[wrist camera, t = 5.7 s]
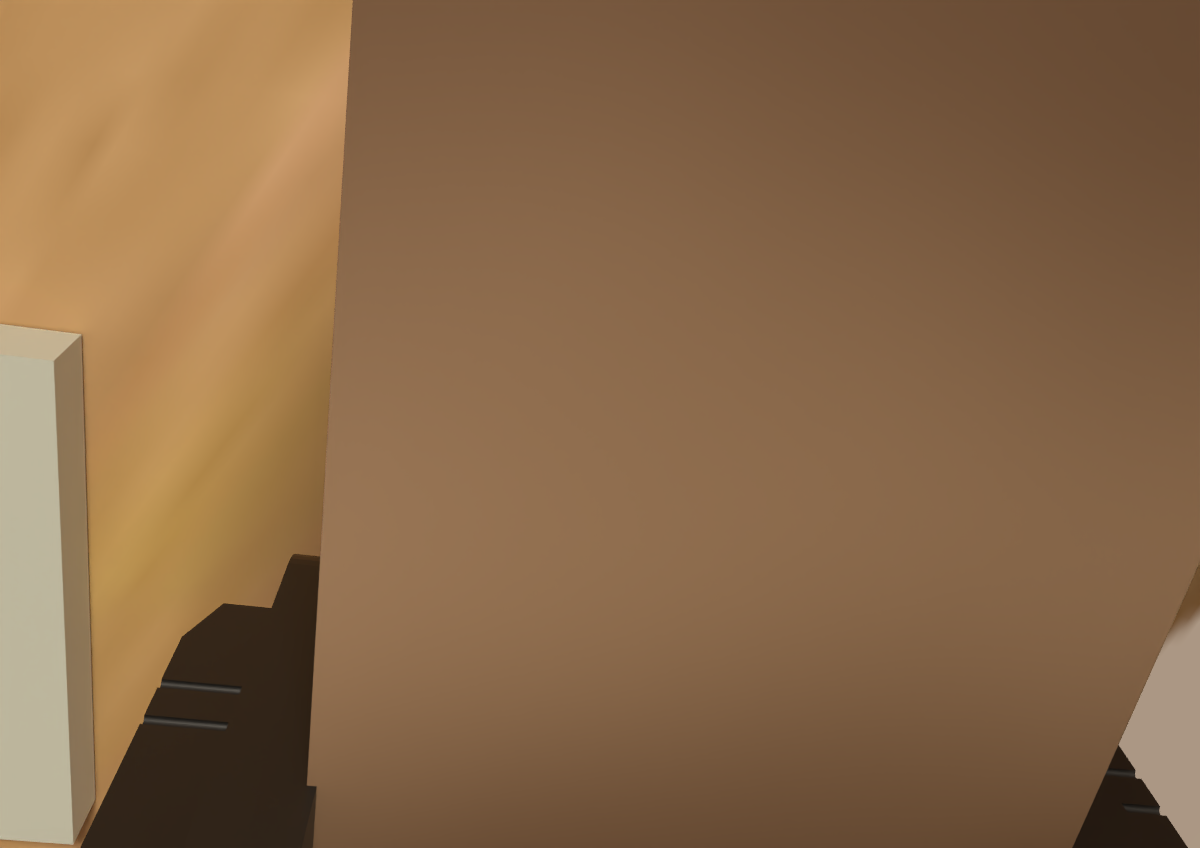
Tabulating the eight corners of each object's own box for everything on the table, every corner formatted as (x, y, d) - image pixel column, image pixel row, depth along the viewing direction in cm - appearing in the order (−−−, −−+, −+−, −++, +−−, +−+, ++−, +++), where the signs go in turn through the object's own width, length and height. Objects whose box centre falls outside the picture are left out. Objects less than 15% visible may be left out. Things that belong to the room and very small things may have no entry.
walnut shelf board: (461, -338, 8) (385, -547, 4) (1111, -212, 9) (1583, -297, 5) (339, 1065, 15) (264, 1496, 11) (716, 1087, 16) (778, 1506, 12)
